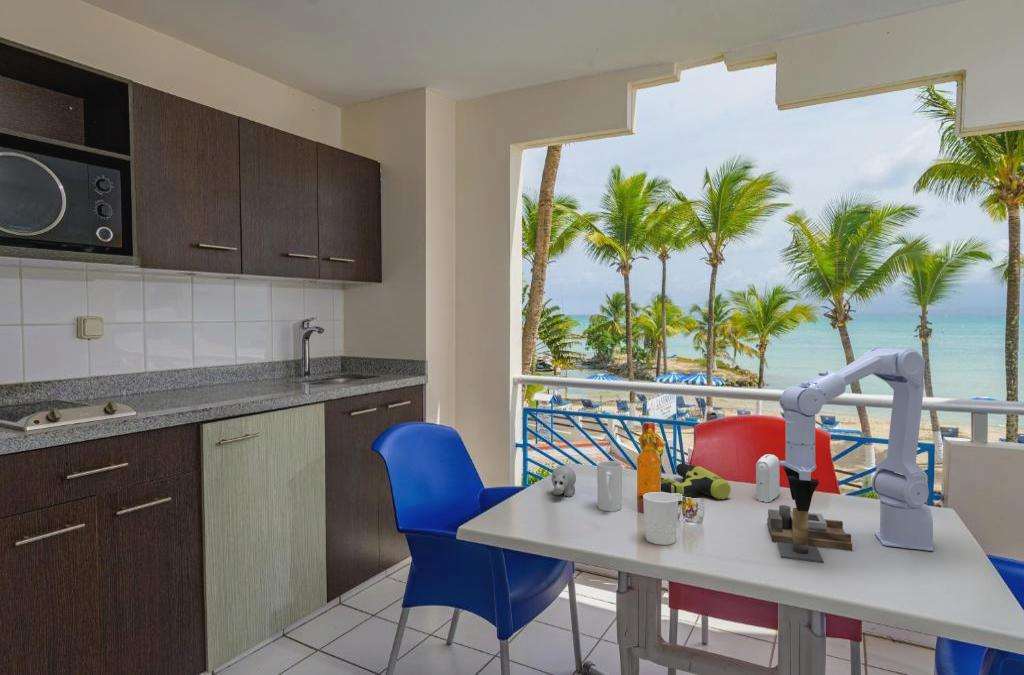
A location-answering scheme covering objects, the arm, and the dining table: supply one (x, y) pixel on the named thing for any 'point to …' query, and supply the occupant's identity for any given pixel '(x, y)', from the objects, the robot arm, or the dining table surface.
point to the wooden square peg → (800, 531)
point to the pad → (788, 552)
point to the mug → (609, 485)
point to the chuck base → (826, 539)
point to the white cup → (660, 517)
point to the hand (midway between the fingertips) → (800, 505)
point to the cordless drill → (696, 482)
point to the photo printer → (767, 478)
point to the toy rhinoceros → (563, 481)
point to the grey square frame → (813, 522)
